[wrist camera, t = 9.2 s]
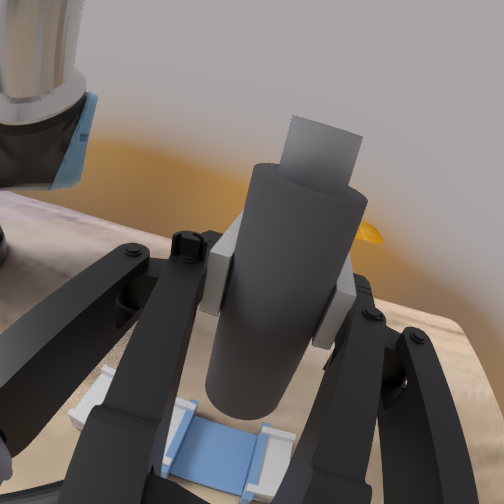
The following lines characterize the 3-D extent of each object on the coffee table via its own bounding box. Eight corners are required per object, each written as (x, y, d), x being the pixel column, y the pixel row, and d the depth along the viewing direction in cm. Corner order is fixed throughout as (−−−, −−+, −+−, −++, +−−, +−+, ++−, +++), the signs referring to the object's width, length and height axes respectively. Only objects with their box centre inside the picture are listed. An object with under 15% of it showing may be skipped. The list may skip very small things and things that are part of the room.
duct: (3, 381, 18) (-5, 367, 17) (46, 337, 25) (42, 322, 24) (274, 511, 16) (283, 505, 15) (289, 438, 22) (297, 428, 22)
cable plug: (194, 404, 13) (257, 106, 8) (217, 352, 17) (276, 111, 11) (273, 429, 13) (400, 150, 7) (284, 372, 17) (374, 141, 11)
